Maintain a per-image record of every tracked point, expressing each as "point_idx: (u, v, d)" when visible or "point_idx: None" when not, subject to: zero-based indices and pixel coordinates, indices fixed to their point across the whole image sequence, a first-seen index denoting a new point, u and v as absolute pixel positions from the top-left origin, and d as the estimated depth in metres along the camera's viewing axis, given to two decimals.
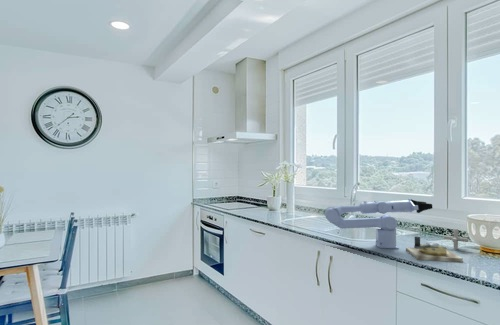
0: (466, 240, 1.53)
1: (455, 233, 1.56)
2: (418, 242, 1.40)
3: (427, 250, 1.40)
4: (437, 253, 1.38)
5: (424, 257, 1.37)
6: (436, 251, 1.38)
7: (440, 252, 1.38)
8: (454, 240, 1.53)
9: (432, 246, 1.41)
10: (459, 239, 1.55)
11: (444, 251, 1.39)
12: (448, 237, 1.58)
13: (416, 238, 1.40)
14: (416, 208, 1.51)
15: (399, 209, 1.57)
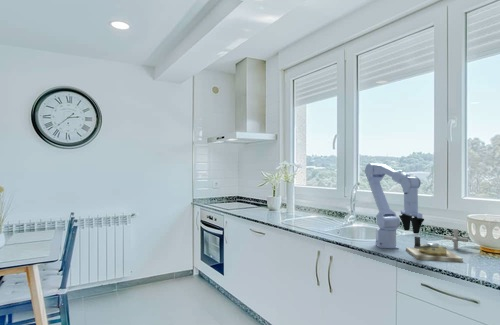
0: (466, 240, 1.53)
1: (455, 233, 1.56)
2: (418, 242, 1.40)
3: (427, 250, 1.40)
4: (437, 253, 1.38)
5: (424, 257, 1.37)
6: (436, 251, 1.38)
7: (440, 252, 1.38)
8: (454, 240, 1.53)
9: (432, 246, 1.41)
10: (459, 239, 1.55)
11: (444, 251, 1.39)
12: (448, 237, 1.58)
13: (416, 238, 1.40)
14: None
15: (404, 200, 1.47)
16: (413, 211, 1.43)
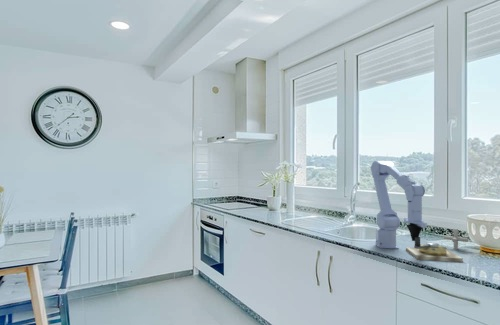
0: (466, 240, 1.53)
1: (455, 233, 1.56)
2: (418, 242, 1.40)
3: (427, 250, 1.40)
4: (437, 253, 1.38)
5: (424, 257, 1.37)
6: (436, 251, 1.38)
7: (440, 252, 1.38)
8: (454, 240, 1.53)
9: (432, 246, 1.41)
10: (459, 239, 1.55)
11: (444, 251, 1.39)
12: (448, 237, 1.58)
13: (416, 238, 1.40)
14: None
15: (408, 208, 1.44)
16: (417, 220, 1.40)
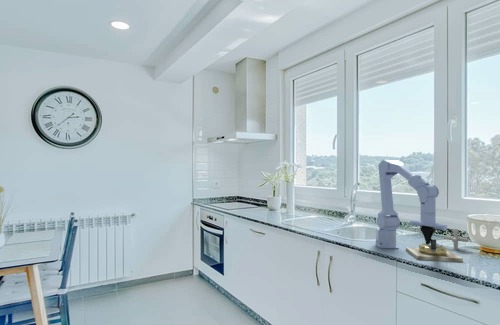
0: (466, 240, 1.53)
1: (455, 233, 1.56)
2: (435, 245, 1.35)
3: (437, 251, 1.38)
4: (445, 253, 1.39)
5: (424, 257, 1.37)
6: (444, 251, 1.39)
7: (446, 251, 1.40)
8: (454, 240, 1.53)
9: (436, 246, 1.41)
10: (459, 239, 1.55)
11: None
12: (448, 237, 1.58)
13: (434, 241, 1.35)
14: None
15: (421, 210, 1.38)
16: (434, 222, 1.35)
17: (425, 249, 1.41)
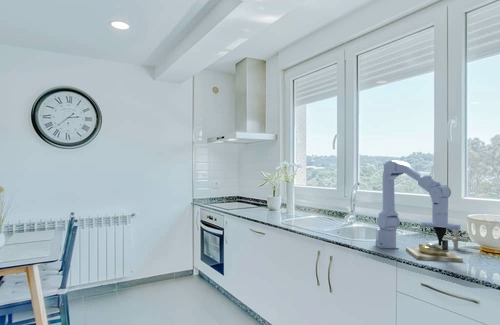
0: (466, 240, 1.53)
1: (455, 233, 1.56)
2: None
3: (443, 251, 1.38)
4: None
5: (424, 257, 1.37)
6: None
7: None
8: (454, 240, 1.53)
9: None
10: (459, 239, 1.55)
11: None
12: (448, 237, 1.58)
13: (447, 241, 1.34)
14: None
15: (433, 210, 1.35)
16: (447, 223, 1.34)
17: (432, 250, 1.39)
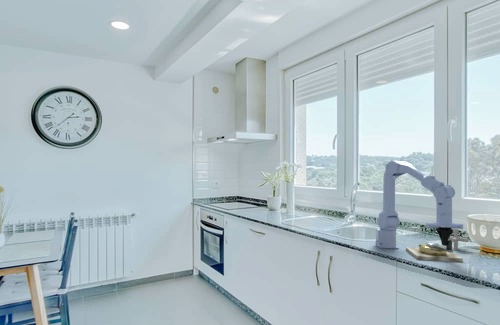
0: (466, 240, 1.53)
1: (455, 233, 1.56)
2: None
3: (445, 251, 1.39)
4: None
5: (424, 257, 1.37)
6: None
7: None
8: (454, 240, 1.53)
9: (438, 246, 1.42)
10: (459, 239, 1.55)
11: None
12: None
13: (451, 241, 1.34)
14: (426, 225, 1.36)
15: (437, 211, 1.35)
16: None
17: (435, 250, 1.38)
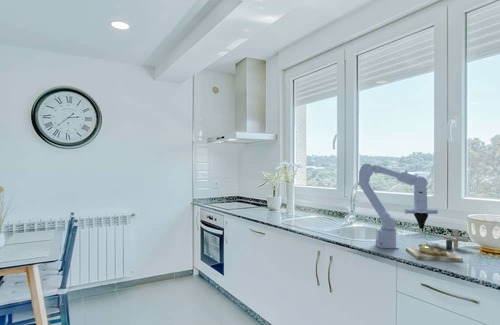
0: (466, 240, 1.53)
1: (455, 233, 1.56)
2: None
3: (445, 251, 1.39)
4: None
5: (424, 257, 1.37)
6: None
7: None
8: (454, 240, 1.53)
9: (438, 246, 1.42)
10: (459, 239, 1.55)
11: None
12: (448, 237, 1.58)
13: (451, 241, 1.34)
14: None
15: (418, 199, 1.53)
16: None
17: (435, 250, 1.38)
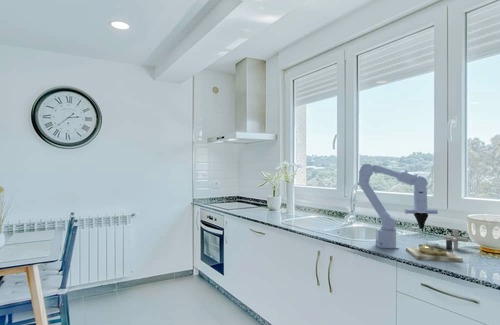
0: (466, 240, 1.53)
1: (455, 233, 1.56)
2: None
3: (445, 251, 1.39)
4: None
5: (424, 257, 1.37)
6: None
7: None
8: (454, 240, 1.53)
9: (438, 246, 1.42)
10: (459, 239, 1.55)
11: None
12: (448, 237, 1.58)
13: (451, 241, 1.34)
14: None
15: (418, 199, 1.53)
16: None
17: (435, 250, 1.38)
